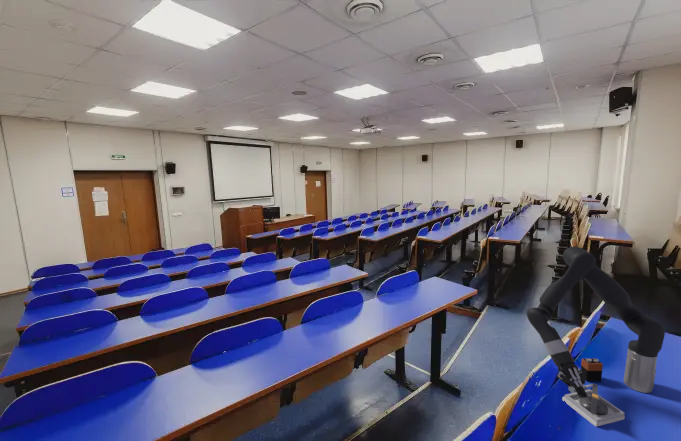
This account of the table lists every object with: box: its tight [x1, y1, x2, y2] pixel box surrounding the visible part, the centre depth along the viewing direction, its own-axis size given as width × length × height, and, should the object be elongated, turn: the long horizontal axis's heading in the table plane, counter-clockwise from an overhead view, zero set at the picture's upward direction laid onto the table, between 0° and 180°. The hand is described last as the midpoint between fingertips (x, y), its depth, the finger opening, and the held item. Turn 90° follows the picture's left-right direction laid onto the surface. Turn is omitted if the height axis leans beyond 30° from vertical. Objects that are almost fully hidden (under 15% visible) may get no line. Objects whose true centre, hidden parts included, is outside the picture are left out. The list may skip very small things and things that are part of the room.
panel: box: [561, 388, 625, 427], centre depth 122 cm, size 14×14×3 cm
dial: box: [579, 383, 608, 415], centre depth 120 cm, size 12×9×9 cm
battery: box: [580, 357, 604, 382], centre depth 139 cm, size 4×7×10 cm, turn 89°
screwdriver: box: [567, 383, 594, 393], centre depth 133 cm, size 14×3×3 cm, turn 103°
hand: (584, 397), depth 120 cm, fingers closed
